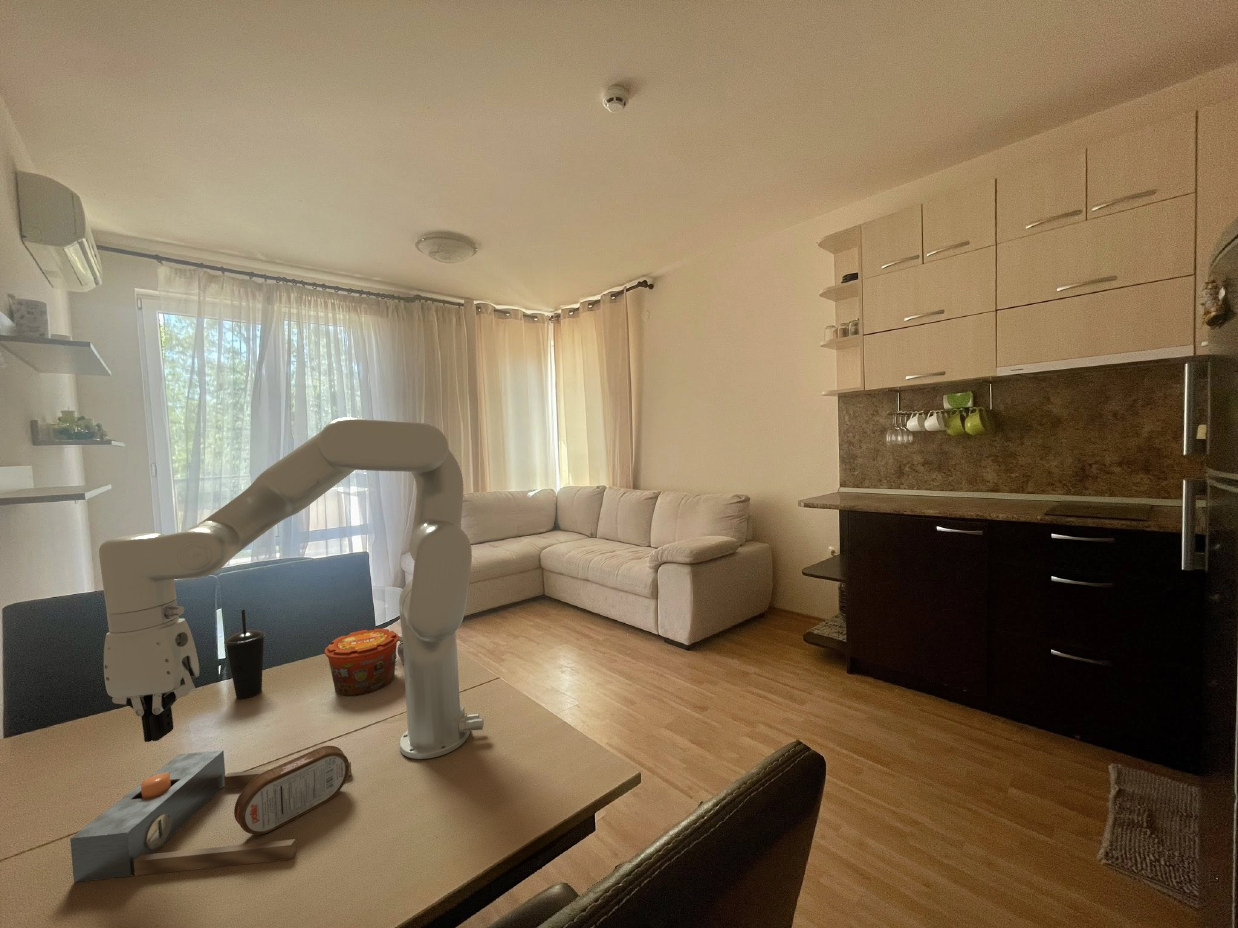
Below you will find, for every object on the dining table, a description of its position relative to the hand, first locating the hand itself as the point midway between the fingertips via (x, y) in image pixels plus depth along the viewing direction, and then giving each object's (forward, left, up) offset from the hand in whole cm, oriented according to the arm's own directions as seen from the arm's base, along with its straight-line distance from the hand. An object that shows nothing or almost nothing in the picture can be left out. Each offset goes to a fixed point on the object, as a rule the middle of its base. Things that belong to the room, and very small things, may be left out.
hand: (159, 735), depth 75 cm
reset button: (+1, 0, -11) cm, 10 cm away
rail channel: (-13, 0, -14) cm, 19 cm away
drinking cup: (+15, -43, -14) cm, 47 cm away
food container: (-11, -44, -14) cm, 47 cm away
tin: (-19, 0, -14) cm, 24 cm away
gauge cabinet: (+1, 0, -14) cm, 14 cm away
